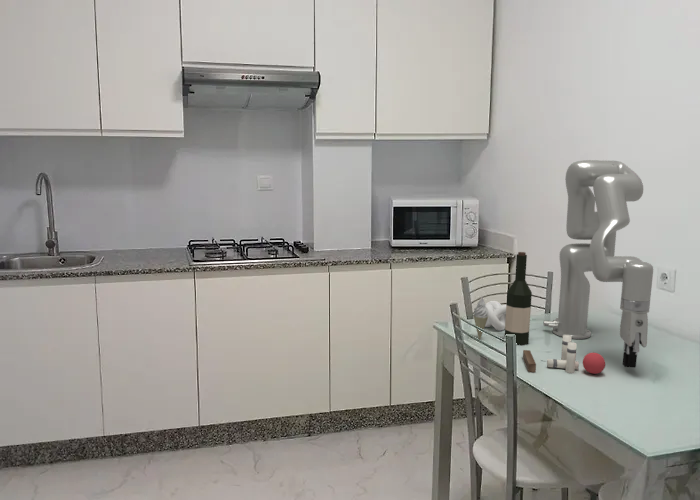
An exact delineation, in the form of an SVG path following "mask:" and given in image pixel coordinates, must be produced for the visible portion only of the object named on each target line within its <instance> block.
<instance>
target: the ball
mask: <svg viewBox="0 0 700 500" xmlns="http://www.w3.org/2000/svg"><path fill="white" fill-rule="evenodd" d="M582 367H583V368H584V370H585V371H586V372H588V373H589V374H593V375H597V374H601V372H604V369H605V368H606V361H605V358H604V357H603V355H602V354H599V353H598V352H589V353H587V354H586V355H584V357H583V359H582Z"/></svg>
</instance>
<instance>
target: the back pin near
mask: <svg viewBox="0 0 700 500" xmlns="http://www.w3.org/2000/svg"><path fill="white" fill-rule="evenodd" d="M576 357H577V343H576V342H573V341H571V342H568V347H567V360H566V369H565V373H567V374H575V371H576V370H575V361H577V360H576Z"/></svg>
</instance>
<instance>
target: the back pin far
mask: <svg viewBox="0 0 700 500" xmlns="http://www.w3.org/2000/svg"><path fill="white" fill-rule="evenodd" d="M571 337H572V336H570V335H563V337H562V342H561V357H560V358H561V359H560V360H567V347H568V342H572V338H571Z"/></svg>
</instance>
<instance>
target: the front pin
mask: <svg viewBox="0 0 700 500" xmlns="http://www.w3.org/2000/svg"><path fill="white" fill-rule="evenodd" d="M579 366H580V363H579V361H578V360H575V371H578V370H579ZM546 367H547V368H552V369H565V370H566V360H561V359H557V358H556V359H555V358H547V359H546Z"/></svg>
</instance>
